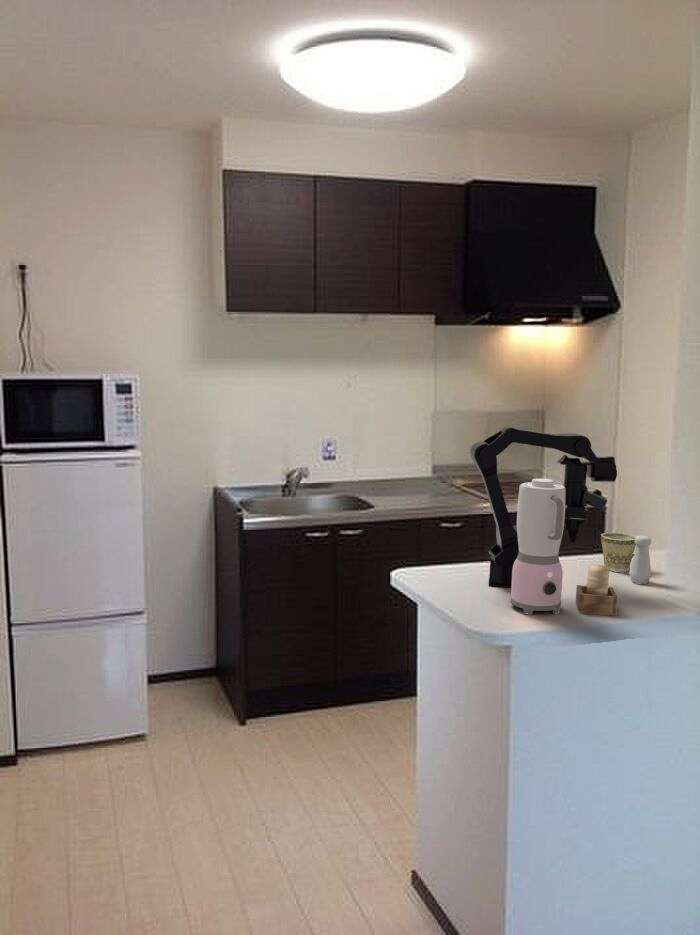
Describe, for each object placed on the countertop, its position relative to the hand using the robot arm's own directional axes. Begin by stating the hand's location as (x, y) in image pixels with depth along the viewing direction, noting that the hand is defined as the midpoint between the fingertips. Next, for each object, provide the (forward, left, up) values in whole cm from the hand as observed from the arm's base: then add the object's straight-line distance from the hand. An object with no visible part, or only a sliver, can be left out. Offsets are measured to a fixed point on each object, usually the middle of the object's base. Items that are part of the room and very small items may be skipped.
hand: (571, 538), depth 238 cm
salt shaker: (+20, +8, -13) cm, 25 cm away
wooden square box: (+5, -21, -13) cm, 25 cm away
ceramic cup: (+17, +21, -13) cm, 30 cm away
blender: (-9, -25, -13) cm, 30 cm away
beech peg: (+5, -21, -12) cm, 25 cm away
